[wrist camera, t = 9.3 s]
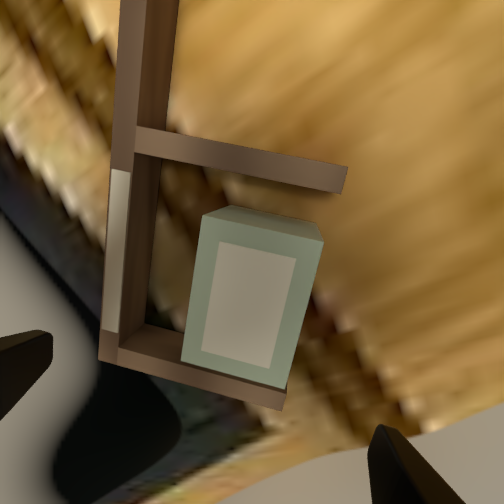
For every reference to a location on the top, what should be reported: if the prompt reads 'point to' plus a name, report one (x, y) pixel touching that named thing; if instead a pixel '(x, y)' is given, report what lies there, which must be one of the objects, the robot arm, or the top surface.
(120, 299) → the walnut comb rail
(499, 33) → the top surface
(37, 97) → the top surface
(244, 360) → the frame block
